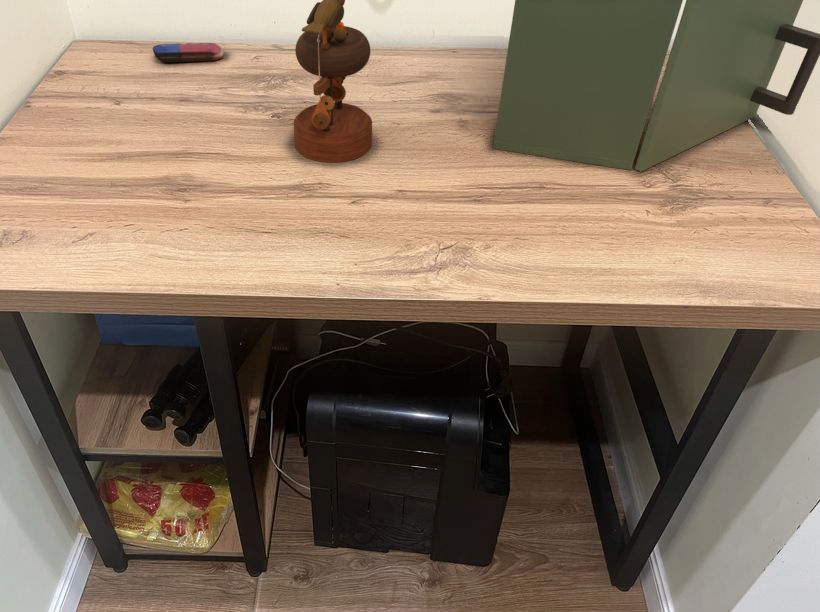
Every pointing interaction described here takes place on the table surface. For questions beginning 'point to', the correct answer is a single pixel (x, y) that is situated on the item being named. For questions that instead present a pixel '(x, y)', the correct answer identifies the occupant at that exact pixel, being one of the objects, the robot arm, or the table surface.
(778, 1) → the door
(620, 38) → the cupboard
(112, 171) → the table surface
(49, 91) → the table surface
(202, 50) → the eraser
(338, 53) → the music box
